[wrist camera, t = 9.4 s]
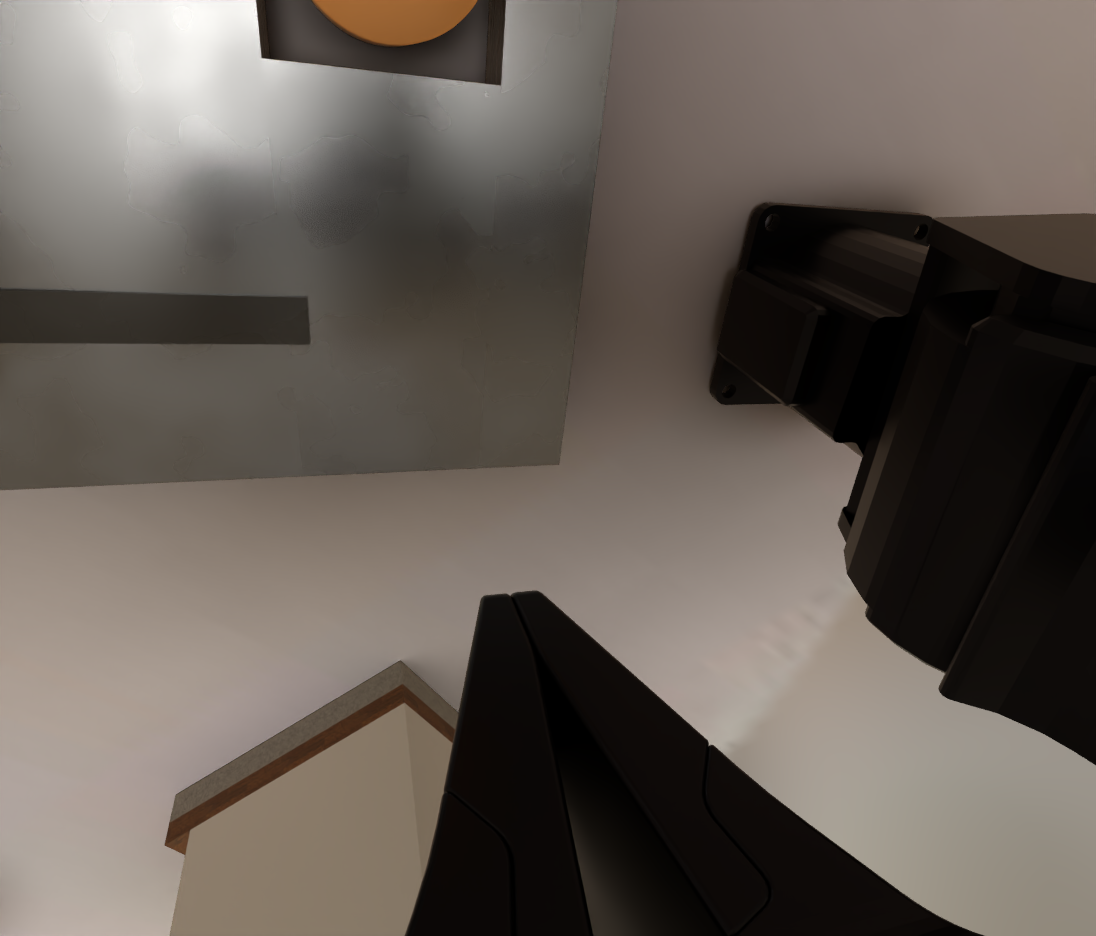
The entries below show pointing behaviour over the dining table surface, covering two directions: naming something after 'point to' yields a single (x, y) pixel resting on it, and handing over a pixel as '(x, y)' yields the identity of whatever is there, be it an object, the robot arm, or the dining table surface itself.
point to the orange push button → (394, 19)
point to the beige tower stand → (319, 820)
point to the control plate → (286, 246)
